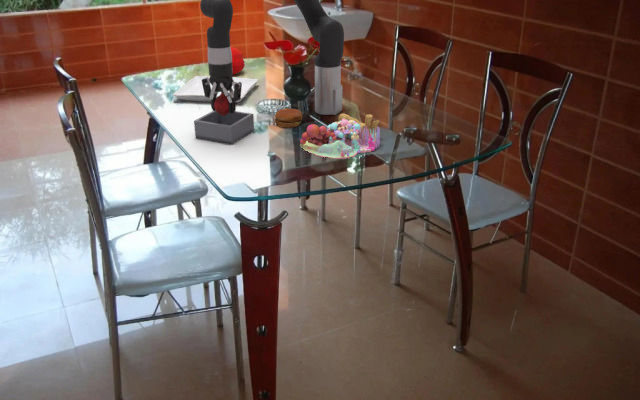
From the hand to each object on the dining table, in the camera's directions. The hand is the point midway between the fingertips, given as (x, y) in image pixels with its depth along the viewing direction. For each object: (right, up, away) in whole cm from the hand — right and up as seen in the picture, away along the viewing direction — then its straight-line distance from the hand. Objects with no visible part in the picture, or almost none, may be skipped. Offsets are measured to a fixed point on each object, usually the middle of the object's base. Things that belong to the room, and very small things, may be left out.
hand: (223, 111), depth 209 cm
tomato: (-7, +26, +70) cm, 75 cm away
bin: (0, -7, +3) cm, 8 cm away
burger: (+21, -3, +14) cm, 25 cm away
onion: (0, -2, +1) cm, 2 cm away
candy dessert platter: (+39, -12, -4) cm, 41 cm away
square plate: (-9, +12, +44) cm, 47 cm away
